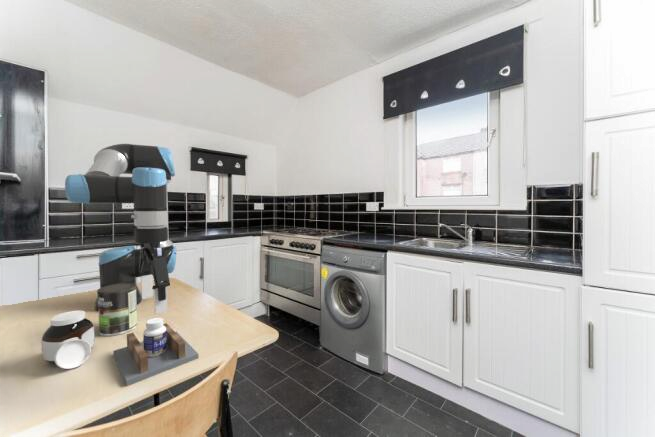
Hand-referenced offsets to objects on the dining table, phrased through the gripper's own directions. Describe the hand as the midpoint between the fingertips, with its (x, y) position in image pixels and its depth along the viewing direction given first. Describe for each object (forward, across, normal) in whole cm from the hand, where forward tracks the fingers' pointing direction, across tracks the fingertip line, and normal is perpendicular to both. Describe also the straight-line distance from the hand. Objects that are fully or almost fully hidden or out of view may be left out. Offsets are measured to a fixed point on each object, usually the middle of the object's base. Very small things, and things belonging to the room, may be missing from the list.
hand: (153, 304), depth 75 cm
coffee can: (+15, -26, -4) cm, 31 cm away
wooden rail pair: (+13, +1, 0) cm, 13 cm away
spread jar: (+15, -13, -16) cm, 26 cm away
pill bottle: (+14, 0, 0) cm, 14 cm away
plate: (+14, +1, 0) cm, 15 cm away
